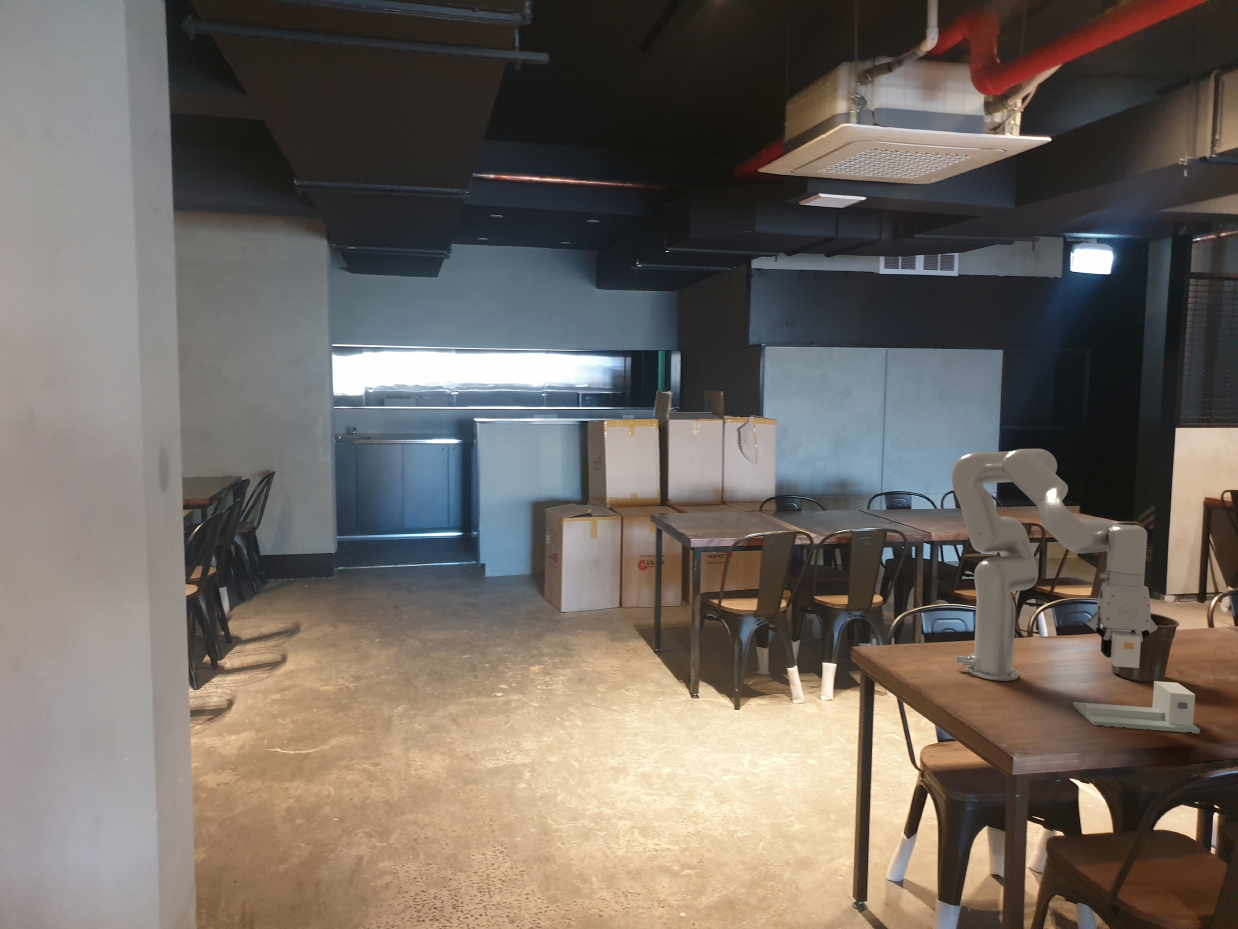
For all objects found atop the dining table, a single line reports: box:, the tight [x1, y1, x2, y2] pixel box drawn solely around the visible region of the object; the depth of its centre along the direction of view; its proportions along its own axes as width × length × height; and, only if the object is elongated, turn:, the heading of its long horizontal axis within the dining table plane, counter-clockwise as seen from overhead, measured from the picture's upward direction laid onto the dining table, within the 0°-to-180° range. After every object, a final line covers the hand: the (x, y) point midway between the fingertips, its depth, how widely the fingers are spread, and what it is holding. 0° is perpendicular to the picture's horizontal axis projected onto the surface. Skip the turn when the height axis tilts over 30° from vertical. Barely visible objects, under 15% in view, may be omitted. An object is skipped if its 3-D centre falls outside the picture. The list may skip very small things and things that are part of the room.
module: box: [1100, 629, 1141, 668], centre depth 191 cm, size 5×9×7 cm, turn 170°
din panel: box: [1073, 681, 1201, 734], centre depth 192 cm, size 22×12×8 cm, turn 80°
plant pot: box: [1111, 612, 1180, 684], centre depth 222 cm, size 16×16×16 cm
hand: (1119, 655), depth 192 cm, fingers closed on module, 5 cm apart
